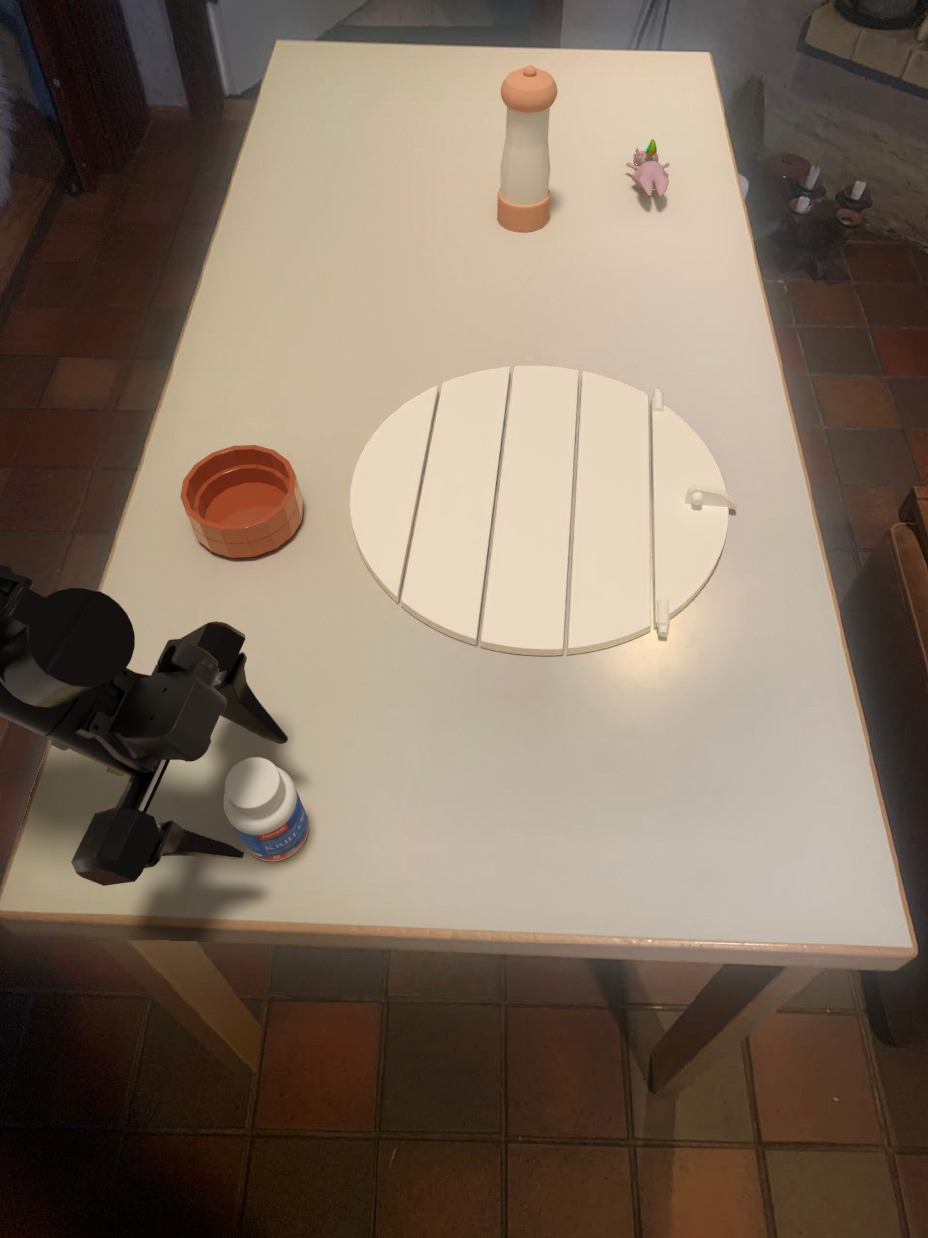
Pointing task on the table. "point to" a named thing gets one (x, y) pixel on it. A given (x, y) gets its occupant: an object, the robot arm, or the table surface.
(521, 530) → the round slatted board
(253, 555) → the bowl
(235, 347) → the table surface
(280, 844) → the pill bottle
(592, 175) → the table surface
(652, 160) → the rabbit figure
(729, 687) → the table surface
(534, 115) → the salt shaker
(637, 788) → the table surface
